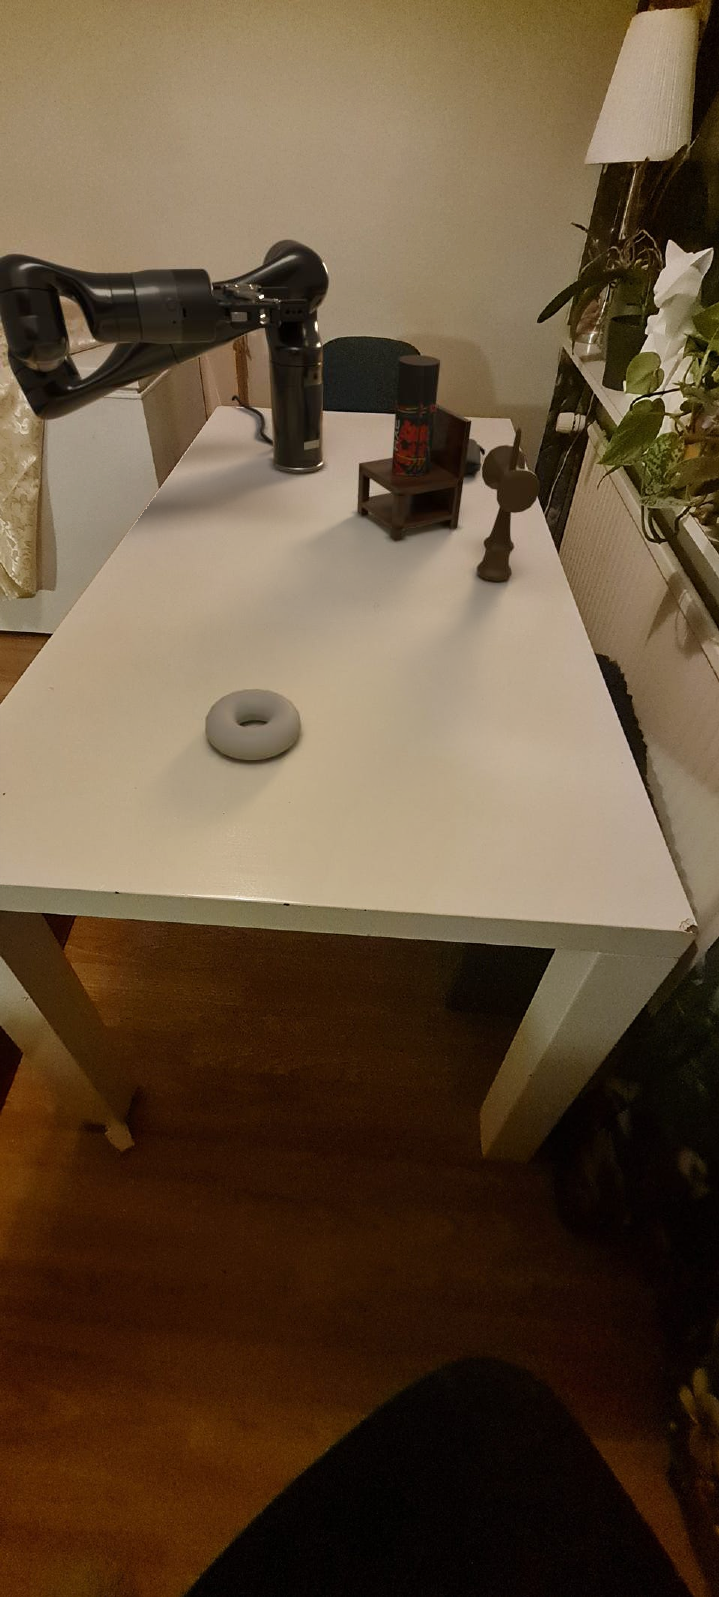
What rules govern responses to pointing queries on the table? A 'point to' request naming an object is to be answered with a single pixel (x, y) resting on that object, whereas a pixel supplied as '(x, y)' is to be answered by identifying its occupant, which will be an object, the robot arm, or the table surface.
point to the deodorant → (415, 414)
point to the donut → (252, 739)
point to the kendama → (505, 504)
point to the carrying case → (473, 458)
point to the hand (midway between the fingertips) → (299, 303)
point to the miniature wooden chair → (420, 481)
